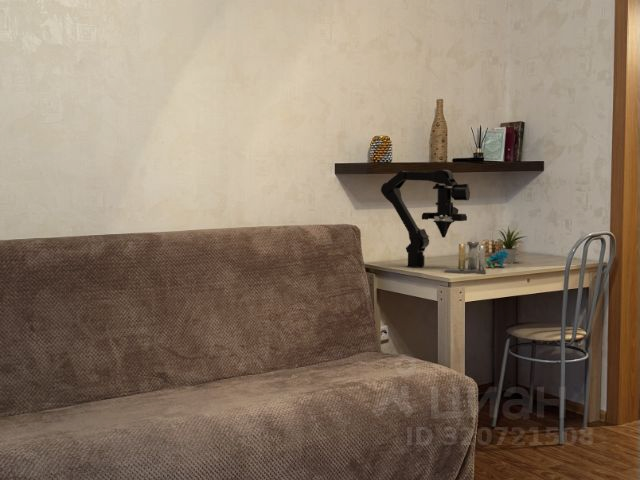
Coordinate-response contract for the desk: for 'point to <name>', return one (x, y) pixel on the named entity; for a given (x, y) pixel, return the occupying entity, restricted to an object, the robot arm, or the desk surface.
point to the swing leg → (462, 256)
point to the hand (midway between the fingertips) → (443, 237)
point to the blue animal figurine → (497, 258)
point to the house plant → (510, 245)
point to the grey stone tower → (473, 252)
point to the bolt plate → (463, 271)
